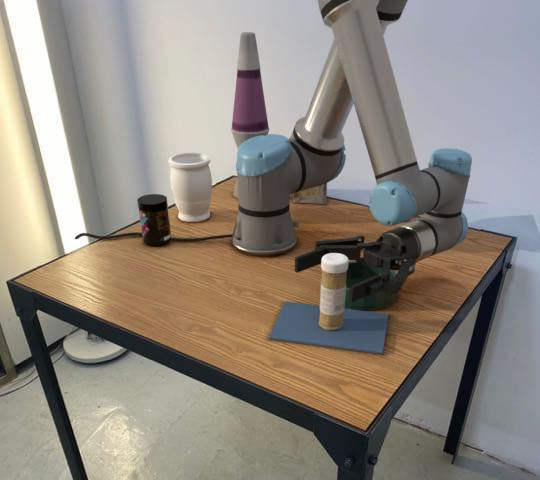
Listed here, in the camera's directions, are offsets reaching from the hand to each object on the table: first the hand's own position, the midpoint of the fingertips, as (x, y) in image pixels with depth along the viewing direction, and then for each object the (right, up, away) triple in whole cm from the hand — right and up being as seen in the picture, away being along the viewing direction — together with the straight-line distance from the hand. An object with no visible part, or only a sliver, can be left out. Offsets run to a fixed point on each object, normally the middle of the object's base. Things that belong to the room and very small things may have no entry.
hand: (322, 279), depth 96 cm
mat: (+2, -8, +8) cm, 11 cm away
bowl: (+9, 0, +18) cm, 20 cm away
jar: (-29, +24, +52) cm, 64 cm away
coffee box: (+2, +31, +61) cm, 68 cm away
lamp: (-14, +34, +65) cm, 75 cm away
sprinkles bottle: (+2, -7, +7) cm, 11 cm away
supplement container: (-36, +14, +39) cm, 55 cm away
